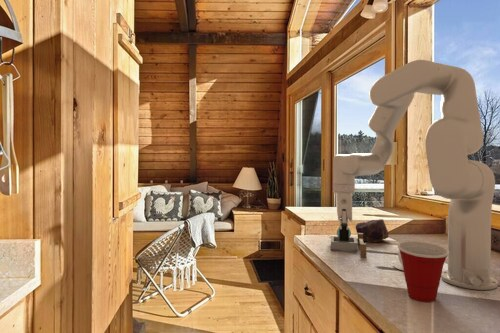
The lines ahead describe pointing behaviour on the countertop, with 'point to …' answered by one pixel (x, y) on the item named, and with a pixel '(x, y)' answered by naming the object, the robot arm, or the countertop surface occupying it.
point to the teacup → (399, 264)
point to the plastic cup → (422, 268)
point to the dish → (344, 244)
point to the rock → (373, 230)
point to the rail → (361, 245)
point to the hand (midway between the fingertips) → (343, 238)
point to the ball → (346, 229)
